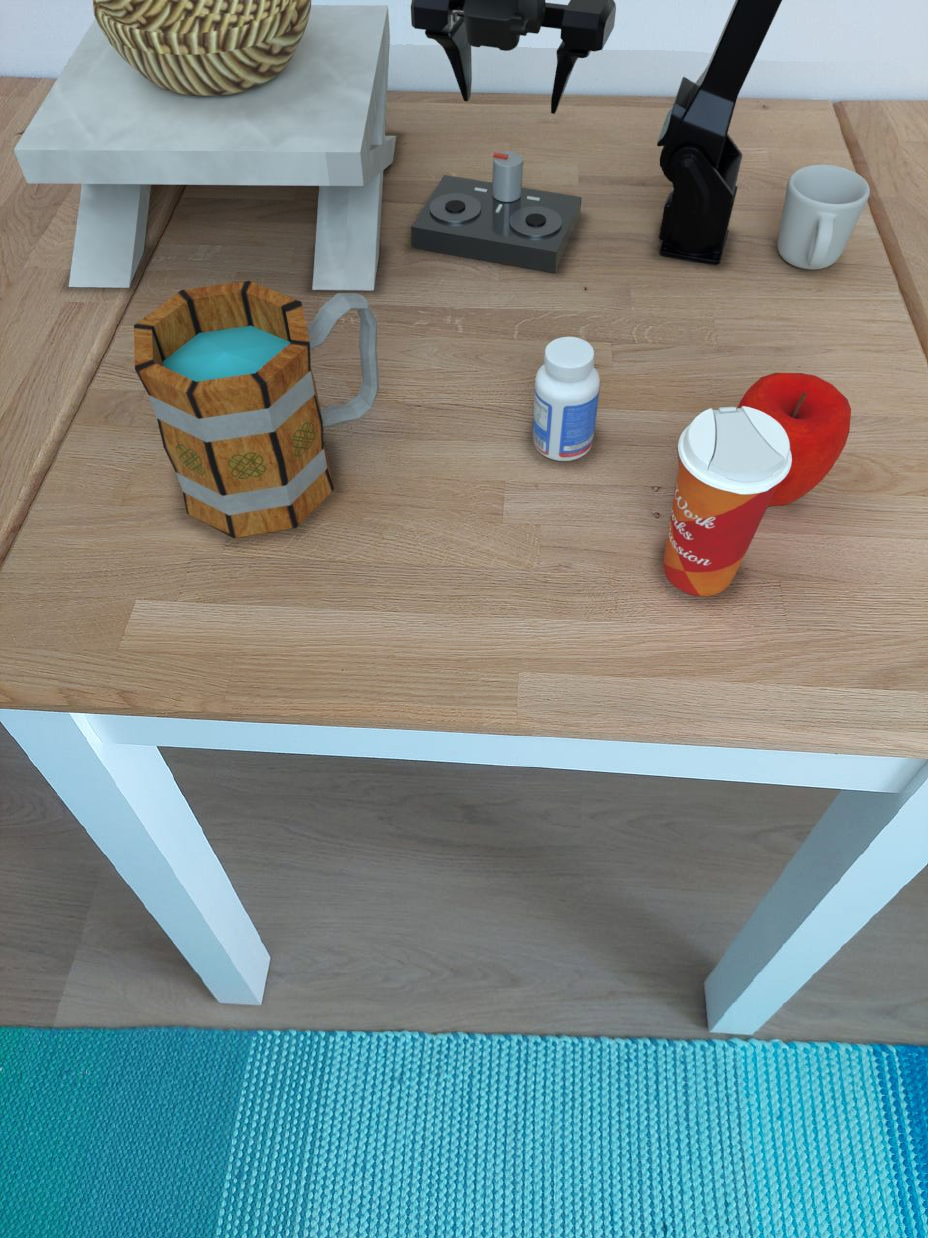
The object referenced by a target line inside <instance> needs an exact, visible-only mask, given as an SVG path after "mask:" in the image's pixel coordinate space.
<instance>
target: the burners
mask: <svg viewBox="0 0 928 1238" xmlns="http://www.w3.org/2000/svg"><path fill="white" fill-rule="evenodd" d="M429 209H430V214H431V215H432V216H433V217H434V218H435V219H436V220H438V221H441V222H444V223H449V224H461V223H466V222H469V221H472V220H474V219H475V218H477V217H478V216H479V214H480V212H481V204H480V202H479V201H478V200H477V199H476V198H474V197H472V196H470V195H466V194H460V193H451V194H445V195H442V196H439V197H437V198H436V199H434V200H433V201H432V202H431V204H430V207H429ZM509 224H510V227H511V229H512V230H513V231H514V232H516V233H517V234H519V235H522V236H525V237H530V238H543V237H548V236H551V235H553V234H555V233H557V232H558V231H559V230H560V228H561V226H562V218H561V216H560V215H559V214H558V213H557V212H555V211H553V210H551V209H549V208H545V207H538V206H532V207H525V208H522V209H519V210H517V211H515V212H514V213H513V214H512V215H511V217H510V220H509Z"/></svg>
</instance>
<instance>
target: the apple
mask: <svg viewBox="0 0 928 1238" xmlns="http://www.w3.org/2000/svg"><path fill="white" fill-rule="evenodd" d="M737 406H738V407H737V408H741V407H742V406H745V407H750V408H753V409H757V410H759V411H761V412H764V413H765V414H767V415H769V416H771V417H772V418H773V419H775V420H776V421H777V422H778V423H779V424H780V425H781V426H782V427H783V429H784V430H785V432H786V434H787V436H788V439H789V443H790V451H791V455H792V463H791V467H790V470H789V472H788V474H787V475H786V477H785V478H784V479H783V480H782V481H781V482H780V483H778V485H777V487H776V489H775V492H774V494H773V496H772V498H771V500H770V502H769V504H768V507H769V508H771V507H778V506H779V507H780V506H781V507H782V506H786V505H788V504H790V503H794V502H795V501H797V500H798V499H800V498H802V497H803V496H805V495H806V494H807V493H809V492H810V491H812V490H813V489H814V488H816V487H817V486H818V485H819V484H820V483H821V482H822V481H823V480H824V479H825V477H826V476H828V474H829V473H830V471H831V470H832V469H833V467H834V466H835V464H836V462H837V461H838V459H839V457H840V456H841V454H842V453H843V450H844V449H845V446H846V445H847V440H848V438H849V434H850V432H851V431H850V430H851V418H852V417H851V416H852V408H851V405H850V402H849V399H848V398H847V397H846V396H845V395H844V394H843V393H842V392H841V391H840V390H839V389H837V387H836V386H835V385H834V384H832V383H830V382H829V381H827V380H825V379H823V378H821V377H819V376H817V375H814V374H810V373H809V374H808V373H802V372H773V373H770V374H767V375H764V376H763V375H762V376H760V377H759V378H758V379H757V380H756V381H755V382H754V383H753V384H752V385H750V387H749V388H748V389H747V391H746V392H745V393H744V395H743V396H742V398H741V399H740V401H739V404H738V405H737Z"/></svg>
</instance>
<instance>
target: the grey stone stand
mask: <svg viewBox="0 0 928 1238" xmlns="http://www.w3.org/2000/svg"><path fill="white" fill-rule="evenodd" d="M92 9H93V10H92V11H93V16H94V19H93V21H92V23H90V26H89V27H88V29H87V30H86V32H85V34H84V35H83V37H82V38H81V40H80V42H79V43H78V45H77V46H76V48H75V50H74V52H73V53H72V55H71V56H70V58H69V59H68V60H67V63H66V64H65V66H64V68H63V69H62V71H61V72H60V74H59V76H58V77H57V78H56V80H55V82H54V84H53V85H52V87H51V88H50V90H49V91H48V93H47V95H46V97H45V99H44V100H43V102H42V103H41V105H40V106H39V108H38V110H37V111H36V113H35V114H34V116H33V118H32V119H31V120H30V122H29V124H28V125H27V127H26V129H25V130H24V132H23V133H22V135H21V137H20V139H19V140H18V141H17V143H16V145H15V147H14V148H13V152H14V154H15V157H16V160H17V163H18V164H19V167H20V169H21V171H22V174H23V177H24V179H25V182H26V184H51V185H52V184H57V185H58V184H59V185H60V184H65V185H66V184H68V185H71V184H73V185H81V188H80V197H79V204H78V213H77V220H76V227H75V234H74V243H73V248H72V249H73V250H72V258H71V259H72V260H71V266H70V274H69V280H68V281H69V282H68V288H112V289H113V288H114V289H115V288H119V289H120V288H122V289H123V288H124V289H126V288H127V289H130V287H131V284H132V283H133V282H132V281H133V280H134V277H135V274H136V272H137V270H138V267H139V265H140V263H141V260H142V257H143V255H144V252H145V244H146V234H147V228H148V227H147V225H148V217H149V207H150V201H151V200H150V199H151V192H152V191H151V190H152V185H175V186H176V185H180V186H181V185H183V186H184V185H185V186H187V185H190V186H192V185H193V186H194V185H196V186H295V187H297V186H299V187H300V186H303V187H304V186H306V187H308V186H309V187H311V186H312V187H313V186H314V187H316V186H317V187H318V198H317V199H318V200H317V214H316V215H317V216H316V217H317V218H316V230H315V243H314V244H315V245H314V261H313V262H314V263H313V276H312V288H311V289H312V291H375V285H376V278H377V272H378V266H379V260H380V259H379V258H380V246H381V245H380V244H381V222H382V205H383V204H382V202H383V186H384V184H383V183H384V171H385V169H388V167H389V166H391V165H392V164H393V163H394V156H395V149H396V144H397V143H396V141H397V135H386V125H387V106H388V105H387V104H388V84H389V66H390V65H389V64H390V48H391V47H390V45H391V32H390V17H389V16H390V15H389V5H385V4H384V5H383V4H382V5H379V4H377V5H376V4H373V5H372V4H370V5H369V4H368V5H367V4H365V5H364V4H312V0H92Z"/></svg>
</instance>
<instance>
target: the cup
mask: <svg viewBox="0 0 928 1238" xmlns="http://www.w3.org/2000/svg"><path fill="white" fill-rule="evenodd" d="M870 188H871V187H870V185H869V183H868V182H867V180H866V179H865V178H864V177H863V176H861V175H860V174H859V173H857V172H856V171H853V170H851V169H848V168H846V167H843V166H839V165H833V164H823V163H822V164H819V163H818V164H811V165H806V166H803V167H800V168H798V169H796V170H795V171H793V173H791V175H790V176H789V178H788V181H787V184H786V191H785V195H784V202H783V208H782V213H781V218H780V223H779V224H780V225H779V232H778V237H777V250H778V253H779V255H780V257H781V258H782V259H783V260H784V261H785V262H786V263H788V264H790V265H791V266H794V267H796V268H800V269H804V270H823V269H826V268H828V267H831V266H832V265H833V264H835V263H837V261H838V259H839V258H840V257H841V256H842V254H843V252H844V251H845V248H846V246H847V244H848V243H849V240H850V238H851V235H852V234H853V231H854V229H855V227H856V225H857V223H858V221H859V220H860V217H861V215H862V213H863V211H864V208H865V206H866V205H867V202H868V200H869V197H870V194H871V189H870Z"/></svg>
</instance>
